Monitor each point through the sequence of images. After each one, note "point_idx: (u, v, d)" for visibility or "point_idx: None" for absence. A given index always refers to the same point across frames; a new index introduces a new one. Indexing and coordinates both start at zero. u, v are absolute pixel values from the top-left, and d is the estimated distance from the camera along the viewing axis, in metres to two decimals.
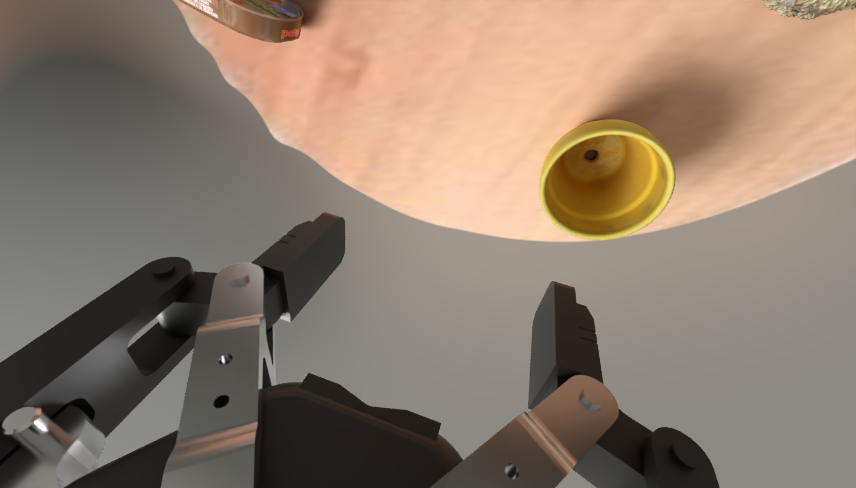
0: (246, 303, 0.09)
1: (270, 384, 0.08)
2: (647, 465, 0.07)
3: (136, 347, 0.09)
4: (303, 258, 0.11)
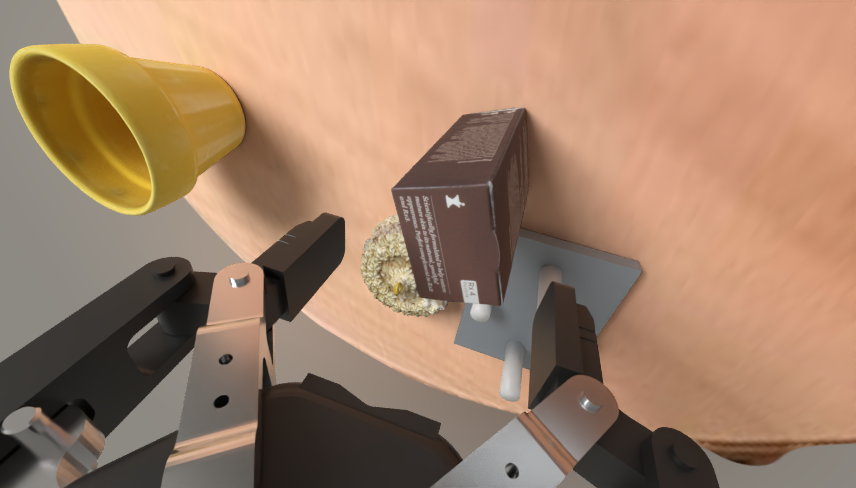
0: (246, 303, 0.09)
1: (270, 384, 0.08)
2: (647, 465, 0.07)
3: (136, 347, 0.09)
4: (303, 258, 0.11)
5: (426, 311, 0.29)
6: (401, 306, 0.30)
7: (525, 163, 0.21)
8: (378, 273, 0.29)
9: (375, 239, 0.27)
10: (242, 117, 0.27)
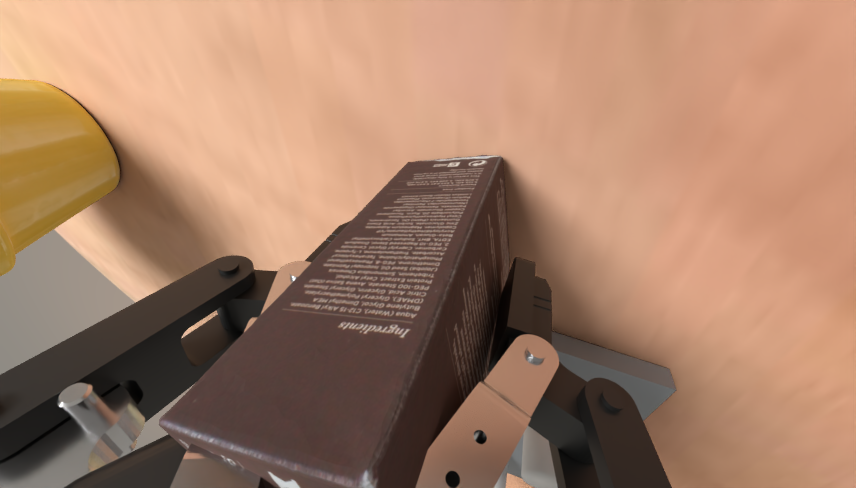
0: None
1: None
2: (579, 409, 0.08)
3: (195, 335, 0.10)
4: None
5: None
6: None
7: (502, 242, 0.13)
8: None
9: None
10: (109, 152, 0.19)
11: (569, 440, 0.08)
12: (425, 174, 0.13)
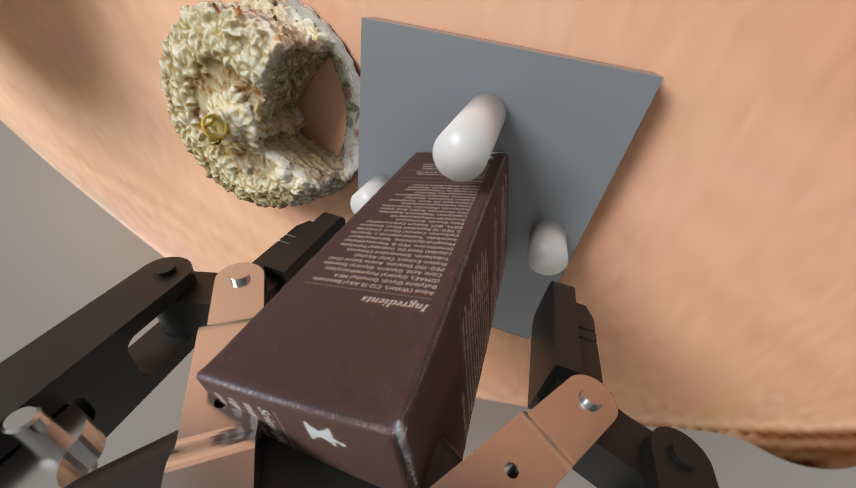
0: (247, 303, 0.09)
1: None
2: (646, 464, 0.07)
3: (137, 347, 0.09)
4: (303, 258, 0.11)
5: (286, 190, 0.16)
6: (246, 184, 0.16)
7: (502, 235, 0.14)
8: (194, 114, 0.15)
9: (172, 32, 0.14)
10: None
11: None
12: (434, 165, 0.13)
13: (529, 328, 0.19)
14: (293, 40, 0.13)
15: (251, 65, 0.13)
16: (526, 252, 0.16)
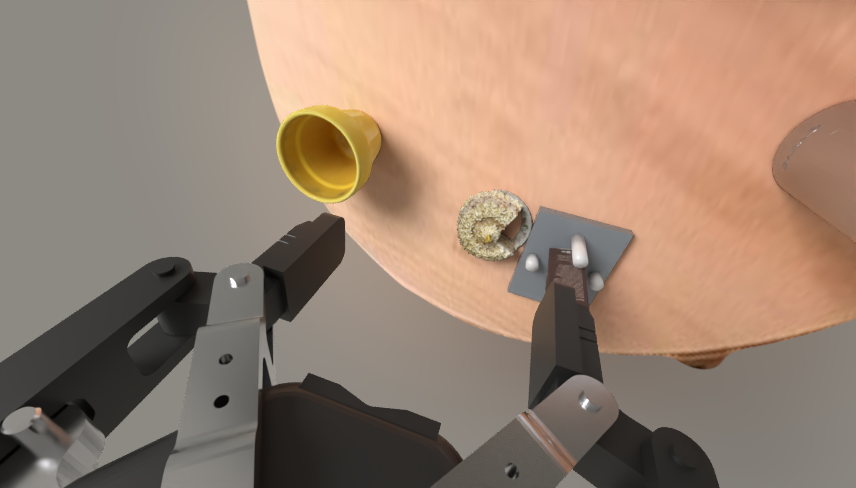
0: (246, 303, 0.09)
1: (270, 384, 0.08)
2: (647, 465, 0.07)
3: (136, 347, 0.09)
4: (303, 258, 0.11)
5: (501, 256, 0.44)
6: (484, 253, 0.44)
7: None
8: (471, 230, 0.43)
9: (473, 206, 0.42)
10: None
11: None
12: (561, 255, 0.42)
13: None
14: (517, 212, 0.41)
15: (506, 221, 0.41)
16: None
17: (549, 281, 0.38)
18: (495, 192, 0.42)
